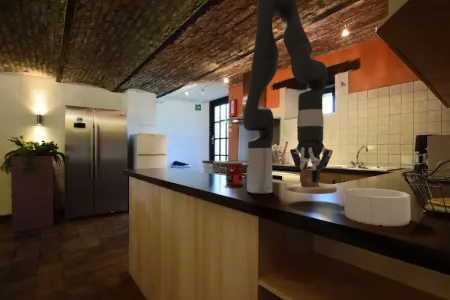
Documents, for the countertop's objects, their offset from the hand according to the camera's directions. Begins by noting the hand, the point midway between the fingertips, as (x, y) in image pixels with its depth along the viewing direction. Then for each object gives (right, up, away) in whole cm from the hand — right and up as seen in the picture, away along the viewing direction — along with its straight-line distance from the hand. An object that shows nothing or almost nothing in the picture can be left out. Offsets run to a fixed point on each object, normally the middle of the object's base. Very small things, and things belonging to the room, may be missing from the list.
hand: (310, 181), depth 76 cm
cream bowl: (+9, -6, -17) cm, 21 cm away
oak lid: (0, -2, 0) cm, 2 cm away
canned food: (-22, -7, +45) cm, 50 cm away
